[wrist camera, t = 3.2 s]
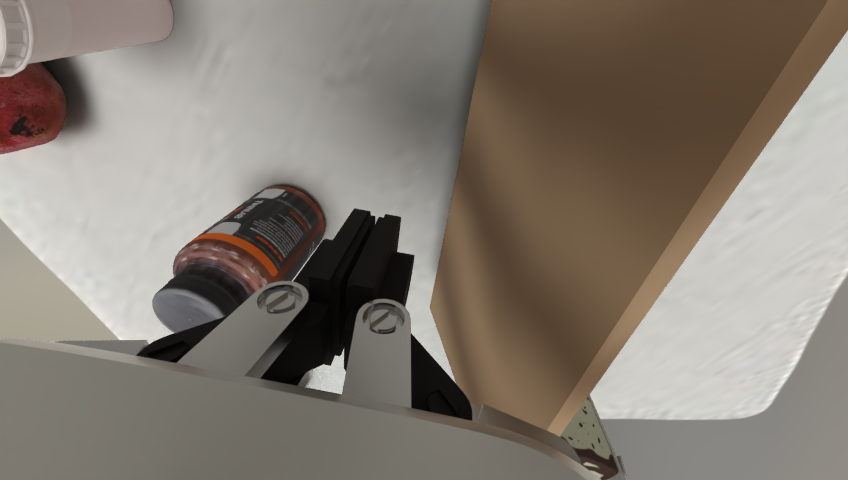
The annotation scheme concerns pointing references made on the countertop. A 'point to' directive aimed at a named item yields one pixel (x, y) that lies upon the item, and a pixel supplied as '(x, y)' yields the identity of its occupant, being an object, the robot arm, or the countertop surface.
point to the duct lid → (602, 176)
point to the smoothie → (76, 28)
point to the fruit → (30, 108)
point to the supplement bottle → (240, 257)
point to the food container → (593, 443)
